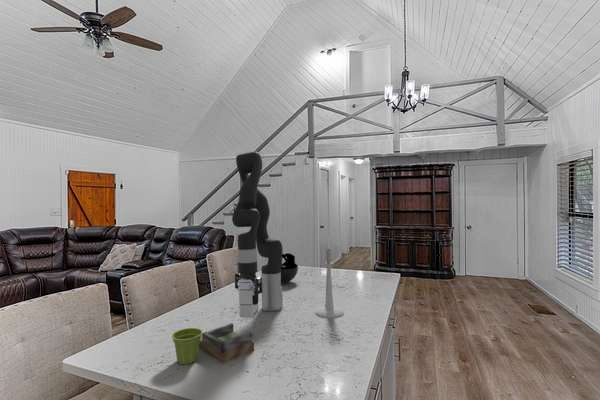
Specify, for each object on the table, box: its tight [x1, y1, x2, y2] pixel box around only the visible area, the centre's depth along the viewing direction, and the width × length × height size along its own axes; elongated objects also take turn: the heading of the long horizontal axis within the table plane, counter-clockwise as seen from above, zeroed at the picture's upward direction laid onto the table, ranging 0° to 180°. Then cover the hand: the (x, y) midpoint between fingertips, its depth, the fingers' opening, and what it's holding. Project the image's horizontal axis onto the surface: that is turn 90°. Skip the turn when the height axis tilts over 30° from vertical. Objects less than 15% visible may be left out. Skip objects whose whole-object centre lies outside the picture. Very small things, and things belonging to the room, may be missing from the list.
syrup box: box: [238, 278, 259, 319], centre depth 123 cm, size 6×6×14 cm
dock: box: [198, 322, 255, 364], centre depth 111 cm, size 12×20×6 cm, turn 47°
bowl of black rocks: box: [281, 253, 299, 284], centre depth 200 cm, size 20×20×19 cm
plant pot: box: [171, 327, 203, 365], centre depth 102 cm, size 9×9×9 cm
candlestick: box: [314, 247, 344, 319], centre depth 144 cm, size 13×13×30 cm
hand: (248, 302), depth 123 cm, fingers closed on syrup box, 7 cm apart
